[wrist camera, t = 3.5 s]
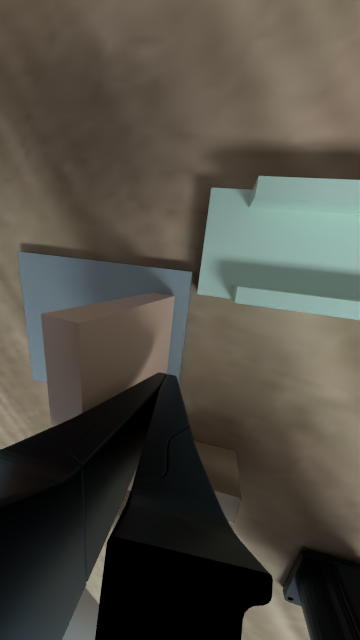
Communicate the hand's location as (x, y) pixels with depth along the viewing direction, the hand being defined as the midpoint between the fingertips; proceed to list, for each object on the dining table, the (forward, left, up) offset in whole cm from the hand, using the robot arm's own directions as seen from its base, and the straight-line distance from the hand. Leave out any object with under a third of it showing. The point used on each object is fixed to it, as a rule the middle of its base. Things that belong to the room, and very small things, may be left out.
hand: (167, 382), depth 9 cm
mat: (0, +6, -5) cm, 7 cm away
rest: (+6, -6, -5) cm, 10 cm away
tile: (0, +1, -4) cm, 4 cm away
